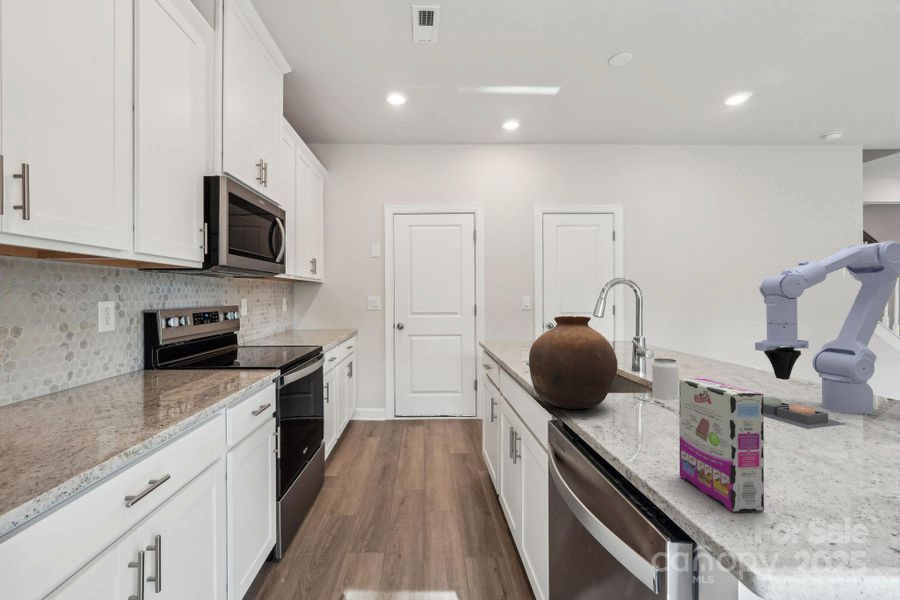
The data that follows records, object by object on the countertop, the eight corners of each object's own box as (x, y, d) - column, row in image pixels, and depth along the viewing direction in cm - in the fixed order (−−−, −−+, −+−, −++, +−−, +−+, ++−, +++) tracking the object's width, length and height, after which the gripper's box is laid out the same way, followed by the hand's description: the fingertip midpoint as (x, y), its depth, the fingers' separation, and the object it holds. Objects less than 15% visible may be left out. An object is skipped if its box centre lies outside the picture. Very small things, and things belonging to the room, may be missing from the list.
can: (682, 405, 104) (682, 362, 104) (656, 404, 106) (656, 361, 106) (673, 399, 111) (673, 358, 111) (649, 398, 112) (649, 357, 112)
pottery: (561, 424, 90) (561, 318, 90) (514, 399, 112) (513, 314, 112) (637, 413, 97) (636, 316, 97) (579, 393, 119) (578, 313, 119)
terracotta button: (798, 413, 90) (798, 403, 90) (820, 419, 86) (820, 408, 86) (784, 415, 89) (784, 404, 89) (805, 420, 85) (805, 410, 85)
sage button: (767, 405, 97) (767, 396, 97) (786, 410, 92) (786, 400, 92) (753, 406, 96) (753, 397, 96) (772, 411, 91) (772, 402, 91)
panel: (741, 402, 107) (741, 389, 107) (848, 430, 84) (848, 414, 84) (706, 405, 104) (706, 392, 104) (807, 435, 81) (807, 419, 81)
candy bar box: (767, 512, 52) (766, 393, 52) (733, 514, 52) (732, 394, 52) (706, 474, 64) (705, 377, 64) (677, 476, 63) (677, 377, 63)
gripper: (786, 321, 99) (787, 373, 99) (742, 323, 96) (743, 377, 96) (818, 323, 92) (818, 379, 92) (772, 325, 89) (773, 383, 89)
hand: (782, 378), depth 93 cm, fingers closed
